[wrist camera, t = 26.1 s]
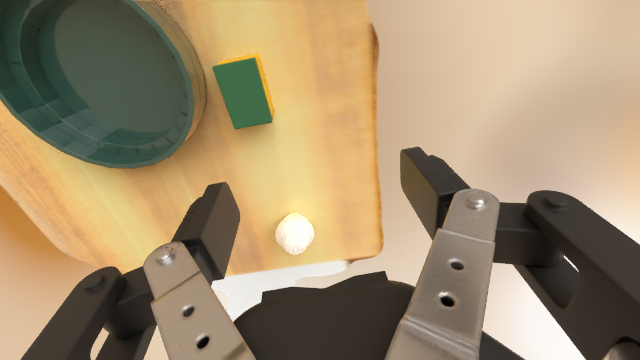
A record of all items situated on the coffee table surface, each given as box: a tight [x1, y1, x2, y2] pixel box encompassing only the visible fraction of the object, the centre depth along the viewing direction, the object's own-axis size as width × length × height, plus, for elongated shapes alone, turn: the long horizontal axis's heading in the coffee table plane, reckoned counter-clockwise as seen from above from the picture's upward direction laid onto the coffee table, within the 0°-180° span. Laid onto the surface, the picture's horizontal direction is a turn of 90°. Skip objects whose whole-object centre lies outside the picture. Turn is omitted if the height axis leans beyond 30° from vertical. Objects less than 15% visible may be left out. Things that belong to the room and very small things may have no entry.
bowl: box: [0, 0, 206, 169], centre depth 29 cm, size 19×19×5 cm
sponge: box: [212, 54, 274, 129], centre depth 31 cm, size 7×4×4 cm, turn 10°
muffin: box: [275, 213, 314, 255], centre depth 42 cm, size 6×6×7 cm
